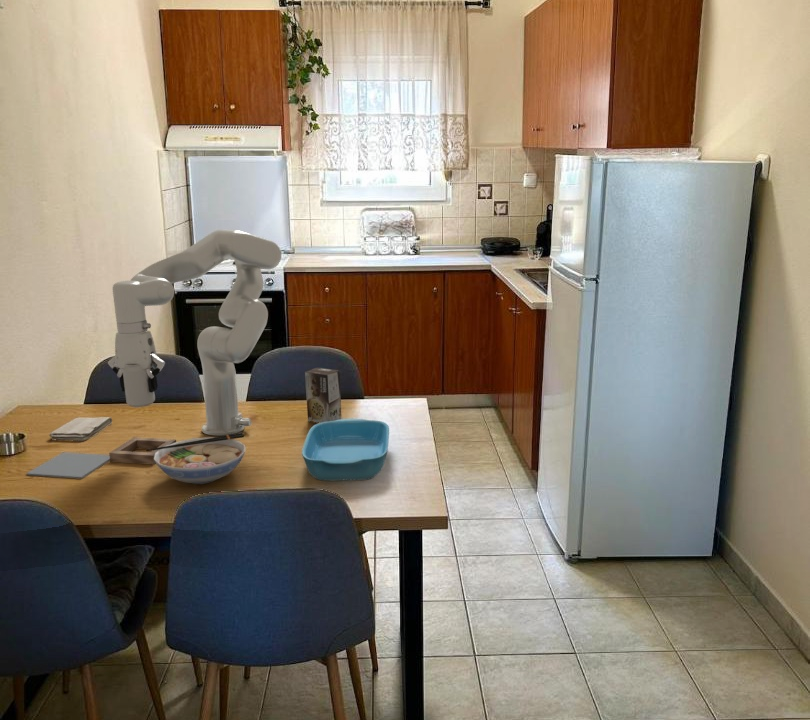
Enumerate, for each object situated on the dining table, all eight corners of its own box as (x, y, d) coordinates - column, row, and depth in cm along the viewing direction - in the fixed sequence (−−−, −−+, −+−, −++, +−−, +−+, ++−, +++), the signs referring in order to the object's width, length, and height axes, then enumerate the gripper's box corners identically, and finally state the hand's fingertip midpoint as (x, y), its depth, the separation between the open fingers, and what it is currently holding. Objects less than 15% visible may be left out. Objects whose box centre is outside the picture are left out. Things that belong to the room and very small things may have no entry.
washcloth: (47, 442, 235) (46, 432, 234) (76, 423, 252) (75, 414, 252) (86, 443, 234) (85, 433, 233) (113, 424, 251) (112, 414, 251)
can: (150, 408, 216) (145, 365, 213) (122, 408, 216) (117, 365, 213) (159, 399, 223) (154, 358, 220) (132, 400, 223) (127, 358, 220)
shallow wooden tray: (176, 447, 227) (175, 439, 227) (154, 464, 215) (153, 455, 214) (134, 445, 230) (134, 437, 229) (110, 461, 217) (109, 452, 217)
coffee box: (342, 420, 250) (340, 370, 246) (329, 425, 245) (327, 374, 241) (319, 415, 255) (317, 366, 251) (306, 421, 249) (304, 371, 246)
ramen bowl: (157, 504, 189) (154, 471, 187) (146, 471, 210) (143, 442, 208) (261, 486, 199) (259, 455, 197) (241, 457, 219) (239, 428, 217)
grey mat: (115, 457, 221) (115, 455, 221) (81, 478, 206) (81, 477, 205) (63, 453, 224) (63, 452, 224) (26, 475, 209) (26, 473, 209)
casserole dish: (313, 440, 233) (312, 416, 231) (390, 439, 233) (389, 415, 231) (297, 490, 197) (296, 463, 195) (388, 488, 197) (387, 461, 195)
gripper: (168, 324, 216) (175, 387, 220) (110, 324, 219) (117, 385, 224) (155, 330, 209) (162, 395, 213) (94, 330, 212) (103, 393, 217)
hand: (139, 390), depth 218 cm, fingers closed on can, 7 cm apart
